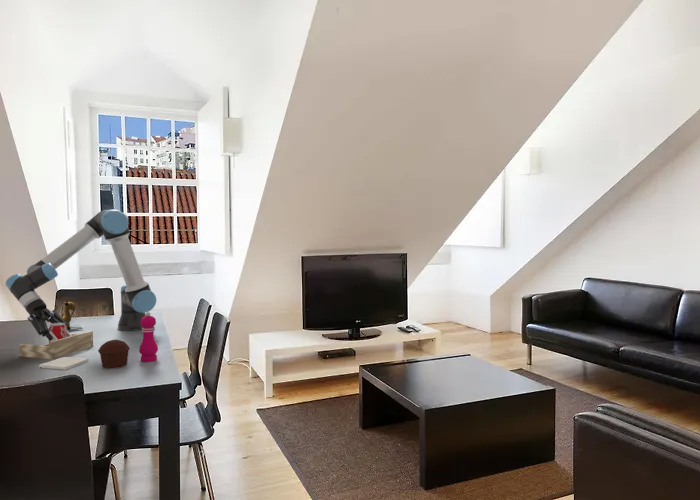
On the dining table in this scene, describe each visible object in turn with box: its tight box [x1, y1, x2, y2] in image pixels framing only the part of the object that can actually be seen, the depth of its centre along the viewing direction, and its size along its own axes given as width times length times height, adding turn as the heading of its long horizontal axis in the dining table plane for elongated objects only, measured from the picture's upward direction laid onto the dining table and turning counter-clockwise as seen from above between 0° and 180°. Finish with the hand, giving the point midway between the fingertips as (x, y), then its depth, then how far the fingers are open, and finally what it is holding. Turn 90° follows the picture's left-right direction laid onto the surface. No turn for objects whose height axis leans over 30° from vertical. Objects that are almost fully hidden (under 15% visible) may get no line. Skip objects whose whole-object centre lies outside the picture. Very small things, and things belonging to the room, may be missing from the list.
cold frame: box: [18, 330, 94, 360], centre depth 224 cm, size 17×23×7 cm
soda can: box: [48, 323, 67, 346], centre depth 224 cm, size 7×7×12 cm
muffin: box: [97, 339, 131, 370], centre depth 202 cm, size 12×11×10 cm
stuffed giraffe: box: [48, 299, 83, 332], centre depth 267 cm, size 16×18×16 cm
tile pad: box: [38, 356, 89, 371], centre depth 204 cm, size 12×12×1 cm
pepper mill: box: [138, 311, 159, 363], centre depth 210 cm, size 7×7×20 cm
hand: (64, 342), depth 223 cm, fingers closed on soda can, 7 cm apart
